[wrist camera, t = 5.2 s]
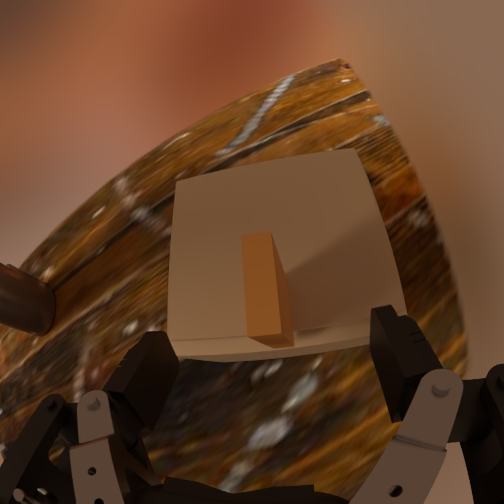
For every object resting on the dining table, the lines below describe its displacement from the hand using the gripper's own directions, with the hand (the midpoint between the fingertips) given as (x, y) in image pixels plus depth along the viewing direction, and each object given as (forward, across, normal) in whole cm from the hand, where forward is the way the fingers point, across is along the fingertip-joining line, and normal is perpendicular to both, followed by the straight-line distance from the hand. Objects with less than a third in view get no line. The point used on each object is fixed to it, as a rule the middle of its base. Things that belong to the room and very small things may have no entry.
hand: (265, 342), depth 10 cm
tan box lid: (+10, 0, 0) cm, 10 cm away
